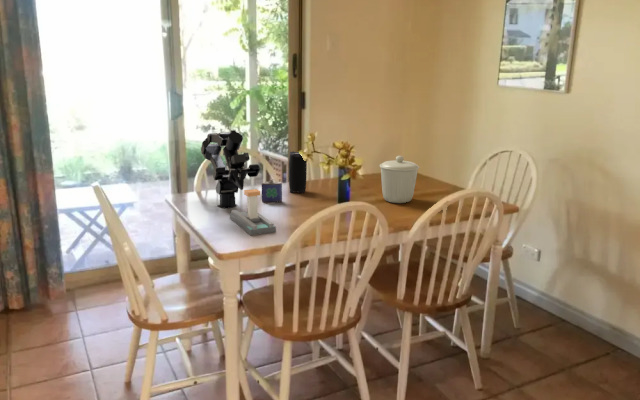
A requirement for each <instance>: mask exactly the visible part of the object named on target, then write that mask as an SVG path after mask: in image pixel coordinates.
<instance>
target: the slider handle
mask: <svg viewBox="0 0 640 400" xmlns="http://www.w3.org/2000/svg"><path fill="white" fill-rule="evenodd" d="M243 193H244V195H245V196H246V201H247V203H246V204H247V206H246V207H247V208H246V210H247V209H248V216H246V218H247V219H249V220H250V221H251V222H258V221H260V218H259V217H258V213H259V212H258V210H259V209H258V208H259V207H258V197H259V196H261V191H260V190H259V189H257V188H256V189H255V188H253V189H252V188H251V189H245V190H244V189H243Z"/></svg>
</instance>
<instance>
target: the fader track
mask: <svg viewBox="0 0 640 400" xmlns="http://www.w3.org/2000/svg"><path fill="white" fill-rule="evenodd" d="M246 216H248V209H247V208H246V211H243V212H242V211H240V212H239V211H238V210H236V209H231V212H230V213H229V219H230V220H231V221H232V222H233V223H235V224H236V225H237V226H238V227H240V228H241V229H242V230H243V231H245V232H246V233H247V234H248V235H250V236H256V235H263V234H271V233H276V232H277V227H276V226H275V225H274V222H272V221H271V220H269V219H267V218H266V217H265V216H264V215H262V214H260V213H259V212H258V217H259V218H260V221H258V222H251V221H250V220H249V219H247V218H246Z"/></svg>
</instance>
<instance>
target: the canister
mask: <svg viewBox="0 0 640 400" xmlns="http://www.w3.org/2000/svg"><path fill="white" fill-rule="evenodd" d="M379 168H380V177H381V189H382V197H383V199H384V200H385V201H387V202H388V203H394V204H405V203H406V202H407V203H409V202H411V201H412V199H413V197H414V192H415V187H416V182H417V176H418V170H419V169H420V166H419V165H418V164H417V163H415V162H413V161H410V160H409V161H408V160H404V156H402V155H397V156H396V157H395V160H386V161H383V162H382V163H380V164H379Z"/></svg>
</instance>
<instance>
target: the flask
mask: <svg viewBox="0 0 640 400" xmlns="http://www.w3.org/2000/svg"><path fill="white" fill-rule="evenodd" d="M274 180H275V179H274V178H271V179H270V181H264V182H261V202H262V203H264V204H265V203H266V204H270V203H276V204H277V203H283V184H282V182H280V181H278V182H274Z"/></svg>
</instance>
